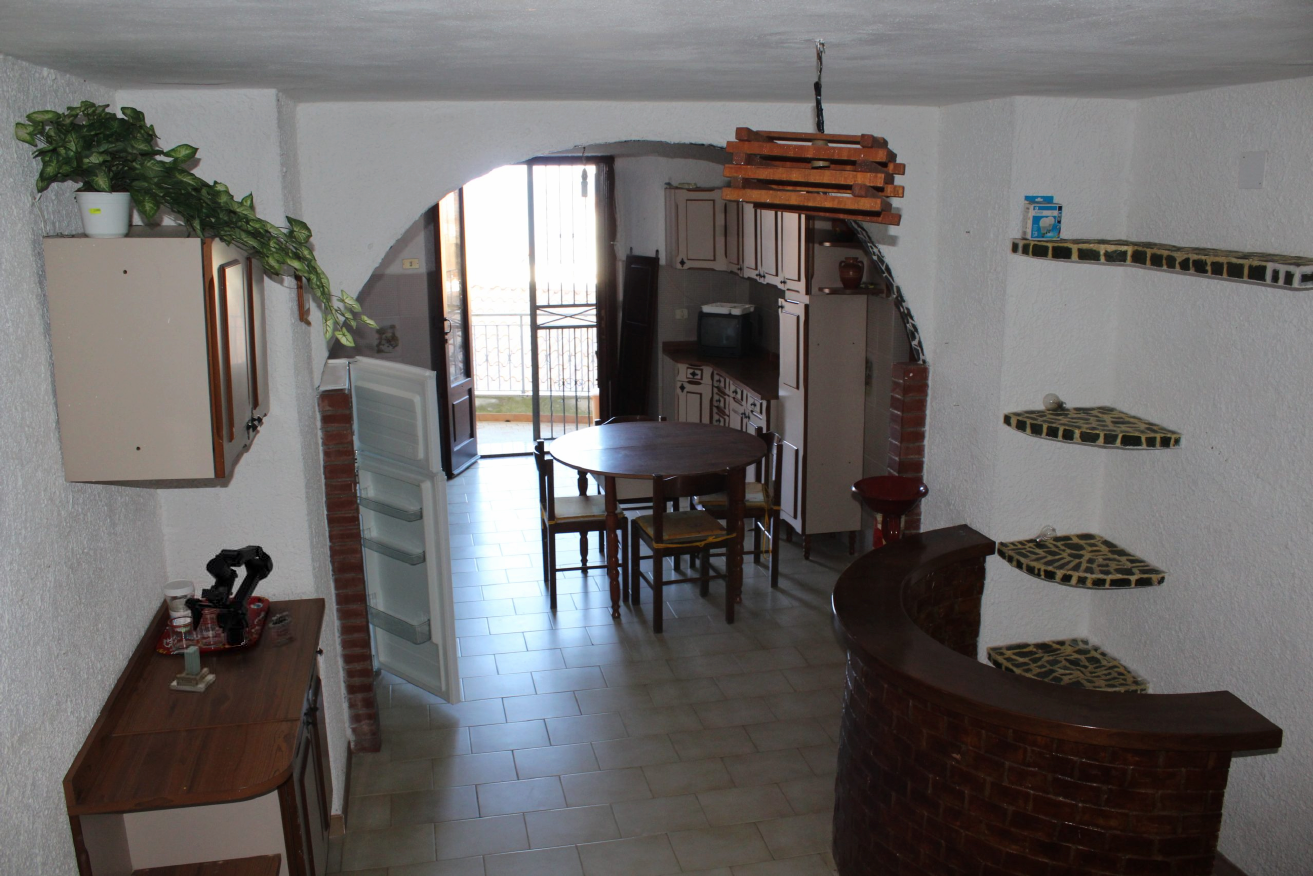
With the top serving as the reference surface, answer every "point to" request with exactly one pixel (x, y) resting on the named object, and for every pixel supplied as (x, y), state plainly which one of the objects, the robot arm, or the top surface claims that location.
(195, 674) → the plank
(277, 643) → the lighter
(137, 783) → the top surface
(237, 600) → the robot arm
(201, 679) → the groove base
